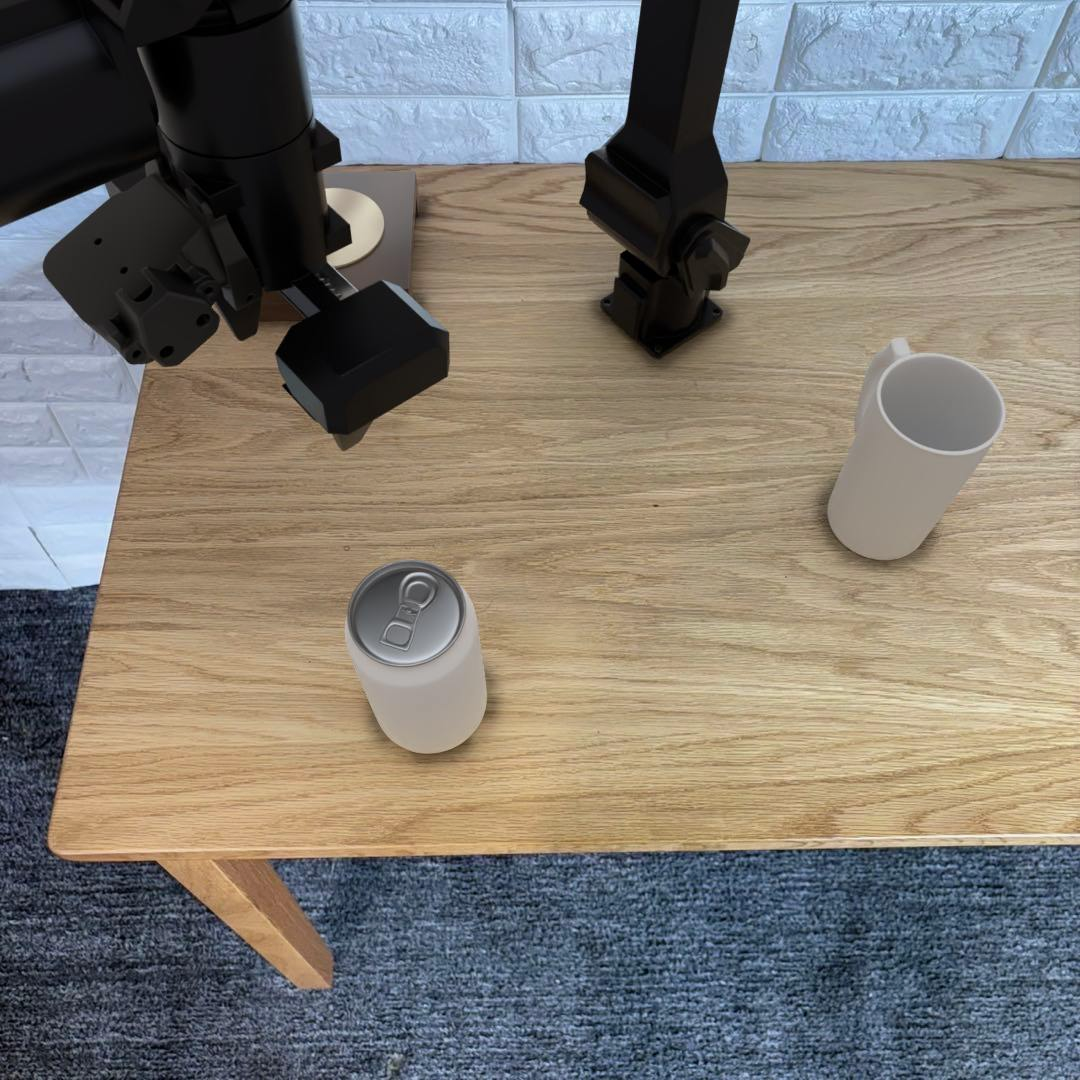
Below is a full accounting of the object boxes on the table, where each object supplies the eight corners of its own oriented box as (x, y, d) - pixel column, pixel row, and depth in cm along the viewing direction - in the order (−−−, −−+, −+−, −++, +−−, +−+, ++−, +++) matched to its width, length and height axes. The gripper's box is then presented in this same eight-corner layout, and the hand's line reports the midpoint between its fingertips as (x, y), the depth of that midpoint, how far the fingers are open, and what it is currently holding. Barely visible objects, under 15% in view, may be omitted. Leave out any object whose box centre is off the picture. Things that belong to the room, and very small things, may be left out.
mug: (946, 557, 62) (1027, 445, 52) (842, 573, 62) (902, 463, 51) (891, 427, 67) (954, 301, 57) (794, 441, 66) (840, 316, 56)
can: (503, 669, 58) (494, 573, 48) (463, 772, 55) (444, 693, 45) (401, 636, 60) (371, 535, 49) (356, 735, 57) (314, 650, 46)
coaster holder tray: (419, 201, 78) (411, 143, 73) (413, 318, 72) (404, 263, 67) (265, 204, 78) (247, 146, 73) (246, 321, 72) (225, 266, 67)
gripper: (-83, 66, 38) (59, 353, 51) (172, 354, 31) (261, 601, 44) (180, -24, 42) (248, 261, 55) (455, 210, 35) (459, 474, 48)
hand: (296, 388), depth 51 cm, fingers open, 9 cm apart
